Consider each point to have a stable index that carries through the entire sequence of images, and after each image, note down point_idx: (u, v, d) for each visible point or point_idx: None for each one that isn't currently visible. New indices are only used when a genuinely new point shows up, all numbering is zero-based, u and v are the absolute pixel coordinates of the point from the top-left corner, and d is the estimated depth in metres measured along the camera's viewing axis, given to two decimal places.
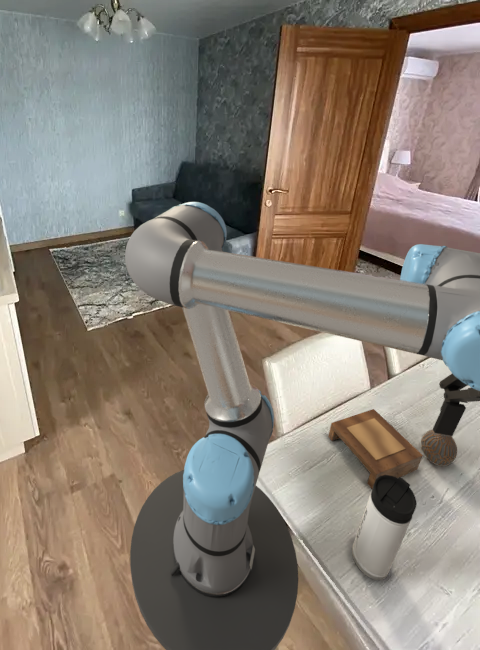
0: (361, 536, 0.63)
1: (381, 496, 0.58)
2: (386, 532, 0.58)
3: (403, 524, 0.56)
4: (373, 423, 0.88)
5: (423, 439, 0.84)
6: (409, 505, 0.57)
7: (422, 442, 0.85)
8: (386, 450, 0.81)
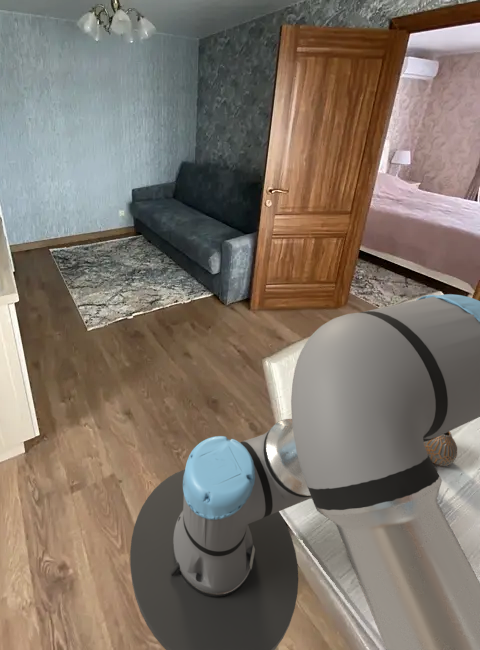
0: None
1: None
2: None
3: None
4: None
5: None
6: None
7: None
8: None
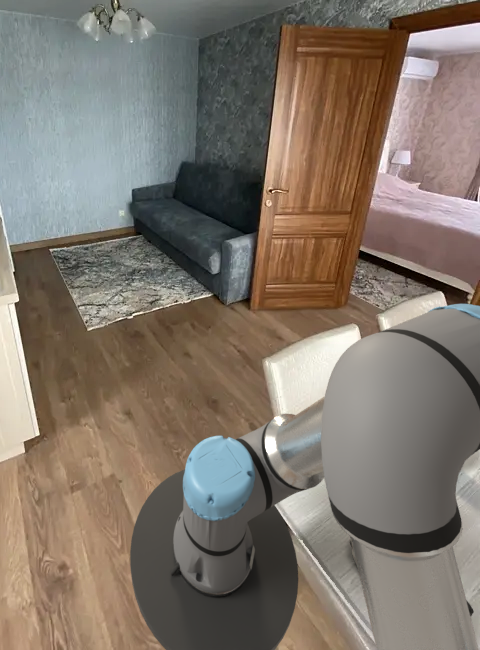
0: None
1: None
2: None
3: None
4: None
5: None
6: None
7: None
8: None
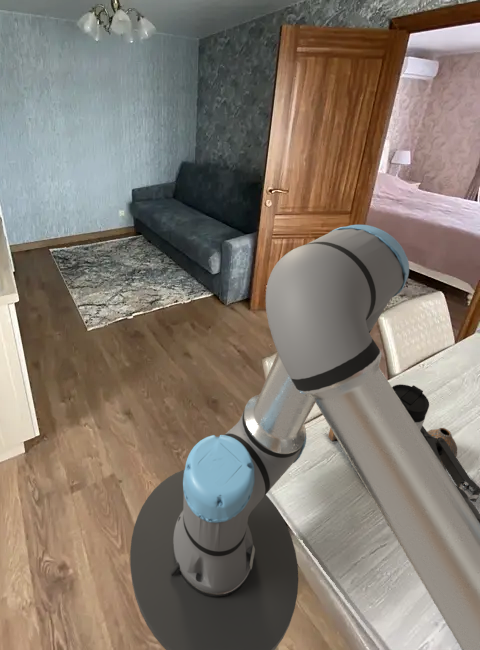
0: None
1: None
2: None
3: (417, 423, 0.62)
4: None
5: None
6: (422, 406, 0.62)
7: None
8: None
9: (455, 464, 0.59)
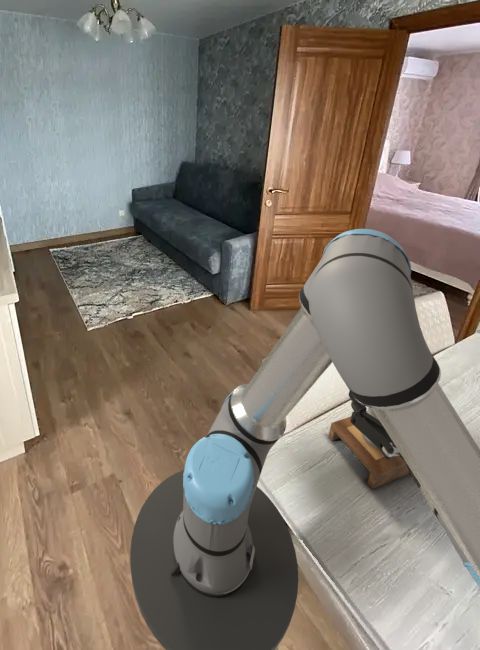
0: None
1: None
2: None
3: None
4: None
5: None
6: None
7: None
8: None
9: None
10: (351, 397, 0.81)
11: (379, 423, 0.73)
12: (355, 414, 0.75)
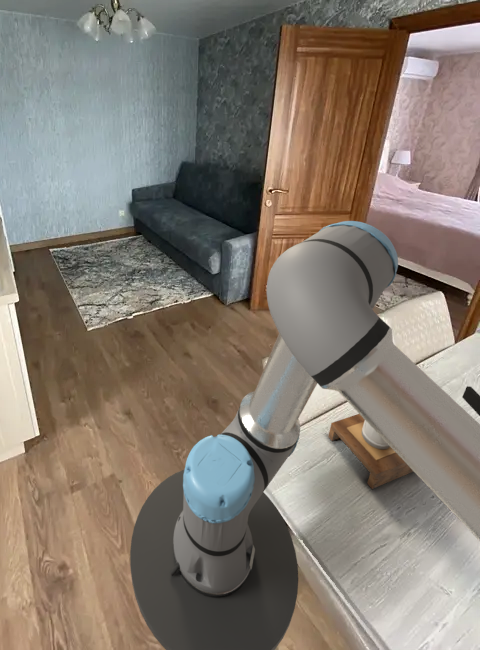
0: None
1: None
2: None
3: None
4: None
5: None
6: None
7: None
8: (386, 450, 0.81)
9: None
10: None
11: None
12: None
